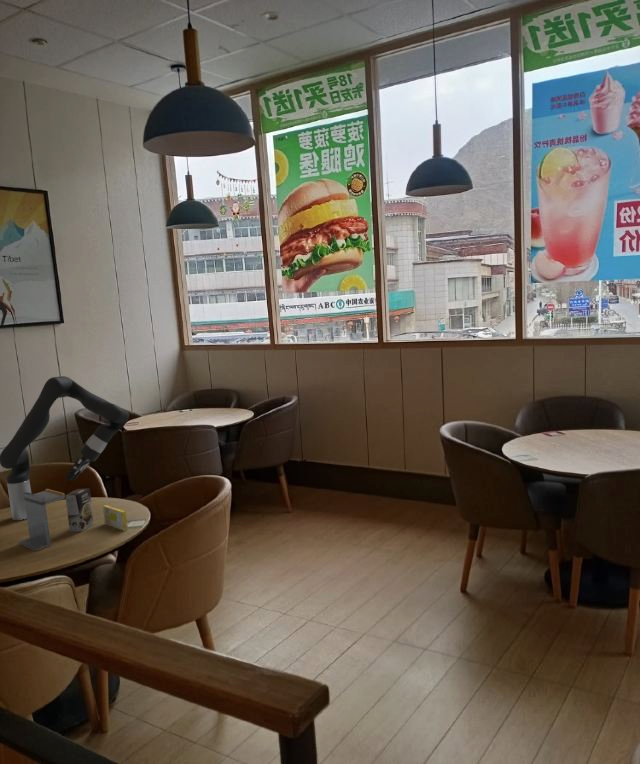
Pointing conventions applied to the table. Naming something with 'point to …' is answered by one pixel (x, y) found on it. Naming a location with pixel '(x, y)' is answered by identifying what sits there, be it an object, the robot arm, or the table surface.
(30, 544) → the grey metal stand
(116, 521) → the candy box
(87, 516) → the coffee box
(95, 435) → the robot arm
